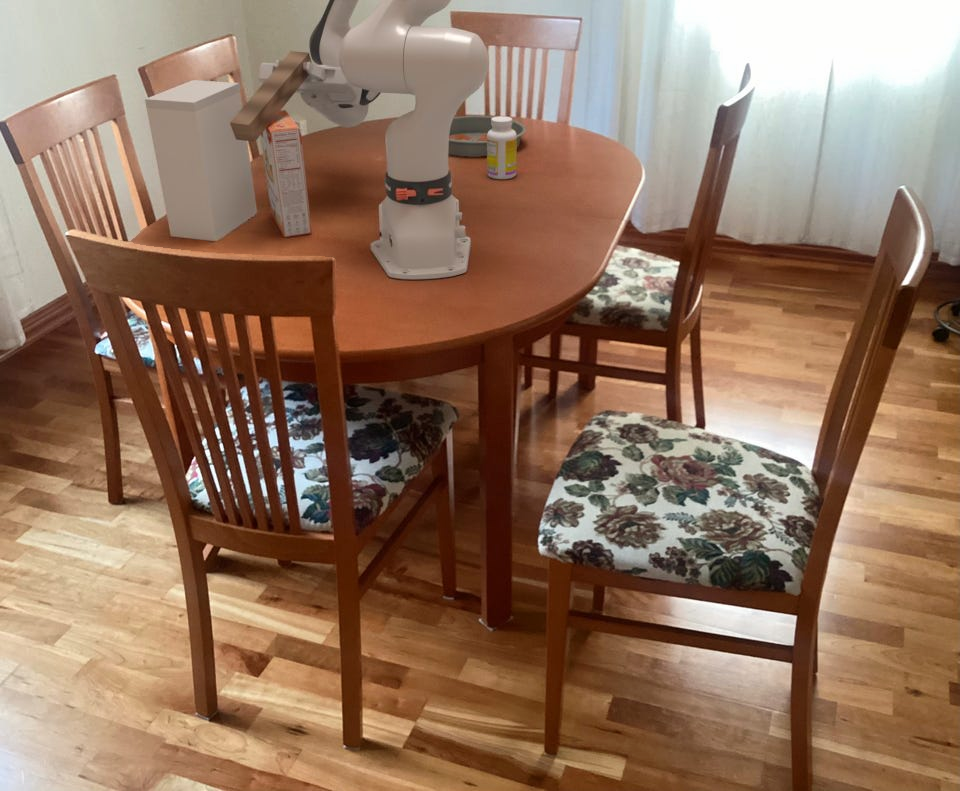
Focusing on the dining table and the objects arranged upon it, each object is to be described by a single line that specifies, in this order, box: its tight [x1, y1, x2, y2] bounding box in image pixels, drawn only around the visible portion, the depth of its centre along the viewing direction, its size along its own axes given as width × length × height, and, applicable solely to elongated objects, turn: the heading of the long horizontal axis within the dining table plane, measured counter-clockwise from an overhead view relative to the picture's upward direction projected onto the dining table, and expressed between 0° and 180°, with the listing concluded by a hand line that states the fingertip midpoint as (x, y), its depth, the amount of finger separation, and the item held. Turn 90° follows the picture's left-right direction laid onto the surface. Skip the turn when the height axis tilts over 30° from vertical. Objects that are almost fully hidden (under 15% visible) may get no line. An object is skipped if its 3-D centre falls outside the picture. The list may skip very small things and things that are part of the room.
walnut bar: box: [230, 50, 313, 143], centre depth 171 cm, size 24×4×4 cm, turn 159°
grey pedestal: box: [144, 79, 258, 242], centre depth 177 cm, size 16×10×26 cm, turn 163°
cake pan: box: [448, 115, 527, 158], centre depth 230 cm, size 25×25×4 cm
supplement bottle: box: [486, 115, 518, 180], centre depth 206 cm, size 7×7×13 cm
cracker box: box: [260, 109, 313, 238], centre depth 178 cm, size 14×6×21 cm, turn 21°
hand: (292, 65), depth 175 cm, fingers closed on walnut bar, 4 cm apart
